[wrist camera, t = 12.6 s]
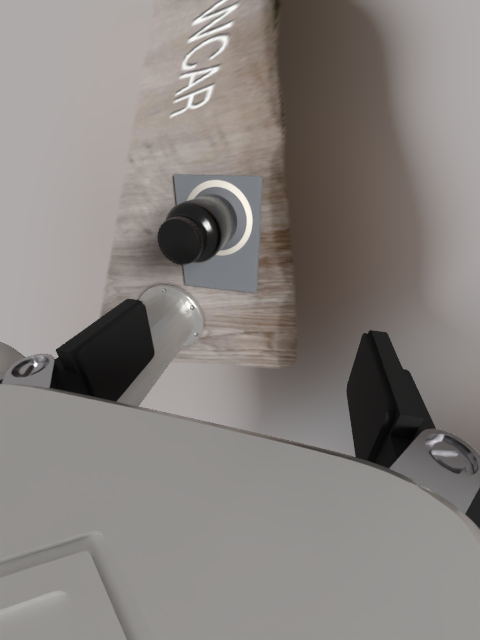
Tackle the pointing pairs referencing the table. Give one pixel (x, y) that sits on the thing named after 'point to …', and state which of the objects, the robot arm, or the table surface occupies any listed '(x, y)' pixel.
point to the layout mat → (243, 249)
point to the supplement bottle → (197, 229)
